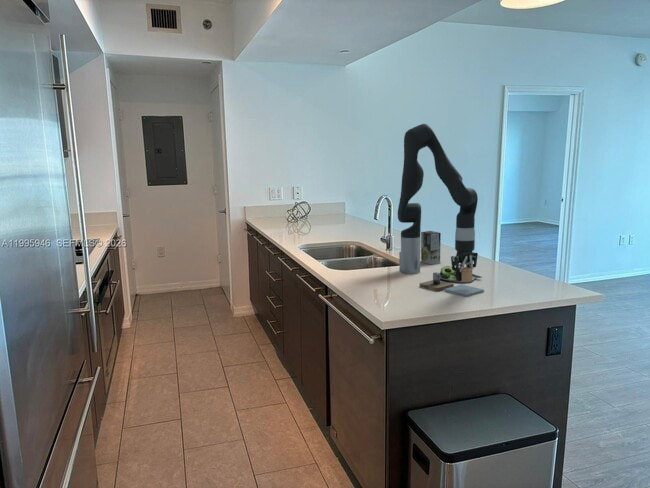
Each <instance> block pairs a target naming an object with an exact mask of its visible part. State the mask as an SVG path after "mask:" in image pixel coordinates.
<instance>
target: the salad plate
mask: <svg viewBox="0 0 650 488" xmlns="http://www.w3.org/2000/svg"><path fill="white" fill-rule="evenodd" d="M439 273H440V281H444V282H448V283H454V284H455V283H457V284H465V283H468V284H469V283H472V282H474V280H476V279H481V278H483V277H482V276H480V275H477V274H474V273H473V272H472V281H469V282H462V281H457V280H456V271H454V270H452V265H450V266H449V265H446V266H443V267H441V268H440V272H439Z"/></svg>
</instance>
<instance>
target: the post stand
mask: <svg viewBox="0 0 650 488" xmlns="http://www.w3.org/2000/svg"><path fill="white" fill-rule="evenodd" d="M454 285H455V283H453V282H444V281H440V272H433V274H432V280H426V281H424V282H420V283H419V288H423V289H427V290H430V291H434V292H441V291H445V289H446V288H450V287H454Z"/></svg>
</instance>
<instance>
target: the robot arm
mask: <svg viewBox="0 0 650 488" xmlns="http://www.w3.org/2000/svg"><path fill="white" fill-rule="evenodd" d="M426 147H427V148H428V149H429V150H430V151H431V153H432V156H433V160H434V166H435V168H434V169H435V171H436V174H437V176H438V178H439V179H440V180H441V182H442V183H443V185H445V187H446V188H447V190H448V192H449V195H450V196H451V199H452V200H453V202H454V203H455V204H456V205H457V206H459V212H458V213H457V215H456V219H455V221H456V224H455V236H454V249H455V251H456V254H455V256H453V255H451V257H450V260H451V261H450V264H451V267H452V270H454V271H456V280H457V281H461V280H462V269H463V267H470V268H472V270H474V268H476V267H477V261H478V256H479V254H478V252H473V251H475V244H476V241H475V240H476V230H475V222H476V221H475V220H476V219H475V217H476V211H477V207H478V200H479V198H478V194H477V191H476V190H475V189H474V188H472V187H466V186H465V185H464V183H463V177H462V175H461V173H460V172H459V171H458V169H456V167H455V166H454V165H453V163H452V162H451V161H450V159H449V158H448V156H447V154H446V152H445V150H444V148H443V147H442V144H441V143H440V141H439V139H438V137H437V135H436V133H435V131H434V130H433V128H432V127H431V126H430V125H429V124H427V123H421V124H419V125H416V126H414V127H412V128H410V129H407V131H406V132H405V133H404V138H403V165H402V166H403V169H402V175H401V185H400V186H401V189H400V197H399V201H398V208H397V219H398V222H400V223H406V224H409V223H412V225H410V226H409V227H408V228H405V229H402V230H401V231H400V251H399V252H398V253H399V259H398V261H399V272H401V273H403V274H410V275H412V274H419V273H421V226H422V225H421V223H422V206H421V204H420V203H419V202H411V203H410V201H411V199H412V198H413V197H414V196H415V195H416V194H417V193H418V192H419V191H420V190H421V188H422V187H423V183H424V174H425V172H424V169H423V167H422V165H421V164H420V163H419V161H418V156H419V152H420V150H423V148H426ZM459 267H460V269H459Z"/></svg>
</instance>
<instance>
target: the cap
mask: <svg viewBox="0 0 650 488" xmlns="http://www.w3.org/2000/svg"><path fill="white" fill-rule="evenodd" d="M459 269H460V266H459ZM472 273H473V269H472V268H470V267H466V266H464V267H463V269H462V280H461V281H462V282H468V283H470V282H469V281H472ZM472 282H473V281H472Z"/></svg>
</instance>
